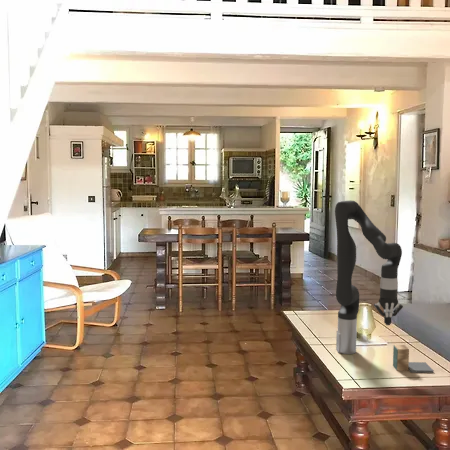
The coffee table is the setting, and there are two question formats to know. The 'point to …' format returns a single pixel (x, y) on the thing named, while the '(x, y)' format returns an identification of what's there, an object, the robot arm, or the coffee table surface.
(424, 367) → the rubber pad
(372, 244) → the robot arm
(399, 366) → the oak block
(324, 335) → the coffee table surface
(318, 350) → the coffee table surface
